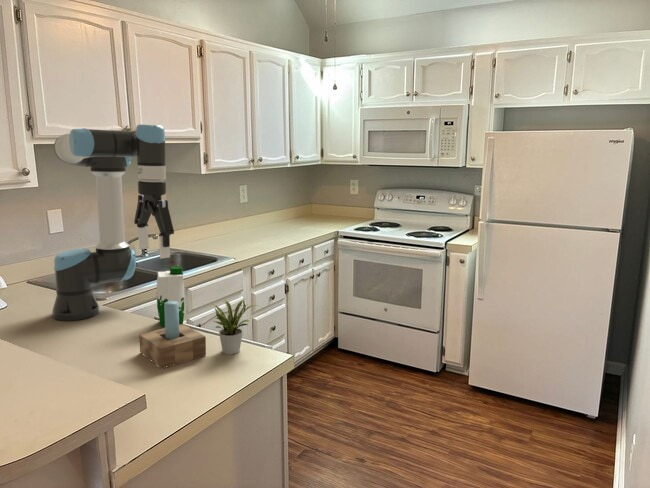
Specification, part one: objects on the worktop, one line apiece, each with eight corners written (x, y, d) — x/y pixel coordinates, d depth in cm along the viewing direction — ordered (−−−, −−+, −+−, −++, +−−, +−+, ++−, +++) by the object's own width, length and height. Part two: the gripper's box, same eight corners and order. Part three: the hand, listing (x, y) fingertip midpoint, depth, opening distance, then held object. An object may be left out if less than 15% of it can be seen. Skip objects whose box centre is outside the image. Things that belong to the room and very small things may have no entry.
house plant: (258, 340, 159) (258, 292, 155) (259, 358, 145) (259, 305, 142) (213, 342, 156) (212, 292, 153) (209, 360, 143) (208, 306, 140)
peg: (163, 354, 146) (161, 302, 143) (175, 350, 149) (174, 300, 146) (169, 358, 143) (168, 306, 140) (182, 354, 146) (181, 303, 143)
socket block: (140, 353, 146) (139, 334, 145) (183, 341, 156) (182, 323, 155) (161, 368, 136) (160, 348, 135) (205, 355, 146) (205, 336, 145)
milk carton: (185, 326, 170) (184, 270, 166) (158, 328, 166) (156, 271, 163) (183, 317, 178) (182, 264, 174) (157, 320, 174) (155, 265, 171)
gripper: (120, 176, 145) (123, 246, 150) (159, 185, 128) (161, 263, 132) (145, 176, 150) (147, 243, 155) (186, 184, 133) (187, 259, 138)
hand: (154, 253), depth 144 cm, fingers open, 13 cm apart
